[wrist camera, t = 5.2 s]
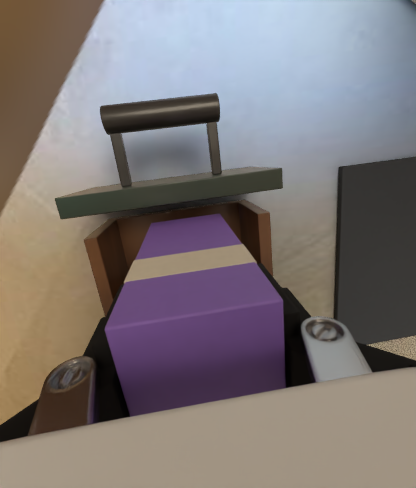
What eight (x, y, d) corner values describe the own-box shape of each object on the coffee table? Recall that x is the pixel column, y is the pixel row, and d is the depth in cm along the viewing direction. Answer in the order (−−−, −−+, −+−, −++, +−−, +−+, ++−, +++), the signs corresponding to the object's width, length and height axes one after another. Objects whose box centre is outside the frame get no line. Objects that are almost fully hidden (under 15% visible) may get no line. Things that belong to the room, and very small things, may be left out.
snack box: (150, 222, 17) (101, 328, 6) (220, 212, 17) (284, 298, 7) (164, 292, 18) (143, 467, 8) (227, 281, 19) (288, 439, 8)
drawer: (75, 122, 19) (24, 102, 13) (246, 103, 20) (279, 75, 14) (130, 338, 25) (115, 399, 19) (260, 315, 26) (289, 366, 20)
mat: (338, 167, 24) (342, 167, 23) (496, 145, 25) (504, 145, 24) (333, 347, 30) (336, 350, 29) (460, 323, 31) (465, 325, 31)
